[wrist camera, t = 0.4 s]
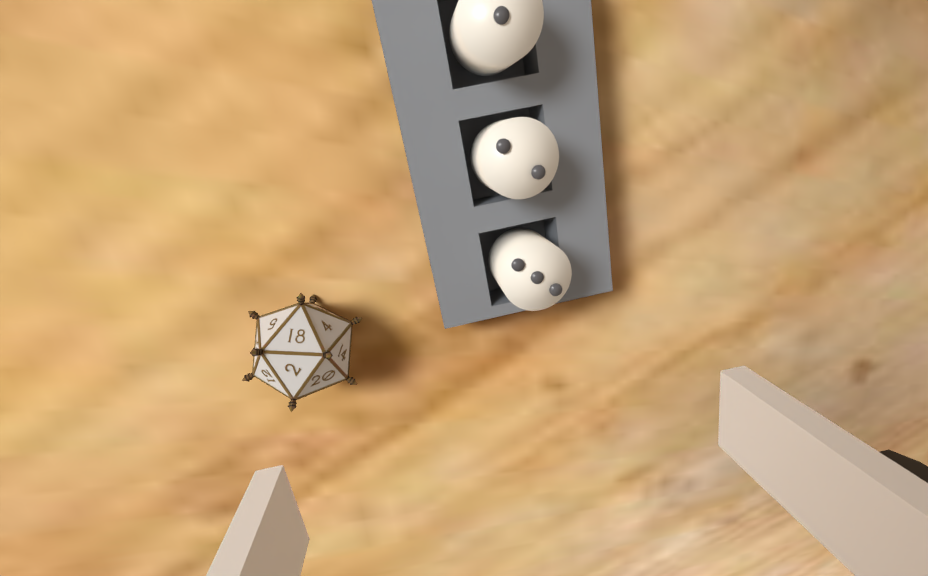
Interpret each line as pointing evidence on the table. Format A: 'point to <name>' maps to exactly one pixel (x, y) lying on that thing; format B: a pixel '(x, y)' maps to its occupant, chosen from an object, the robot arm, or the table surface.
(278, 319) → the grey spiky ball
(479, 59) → the button
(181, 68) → the table surface
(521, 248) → the button
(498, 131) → the button
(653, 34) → the table surface
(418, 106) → the button board
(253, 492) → the robot arm
